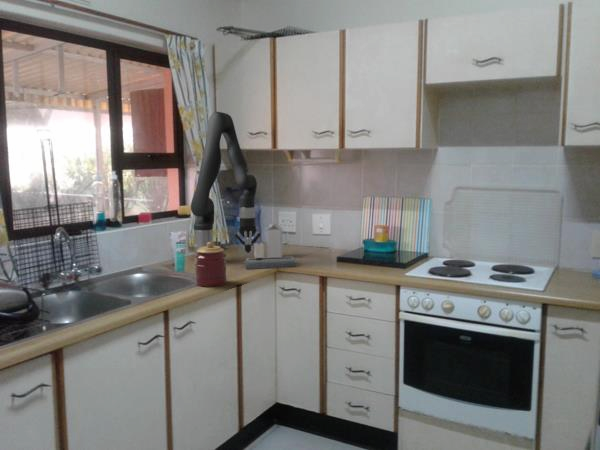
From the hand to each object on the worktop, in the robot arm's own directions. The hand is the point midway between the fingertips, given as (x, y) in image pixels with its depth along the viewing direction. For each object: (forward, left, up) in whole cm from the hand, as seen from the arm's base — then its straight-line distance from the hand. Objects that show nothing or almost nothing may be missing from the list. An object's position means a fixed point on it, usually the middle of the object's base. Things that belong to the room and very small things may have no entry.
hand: (248, 252), depth 252 cm
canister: (-19, -31, -7) cm, 37 cm away
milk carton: (+16, +21, -7) cm, 28 cm away
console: (+10, 0, -7) cm, 13 cm away
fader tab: (+5, 0, -5) cm, 7 cm away
